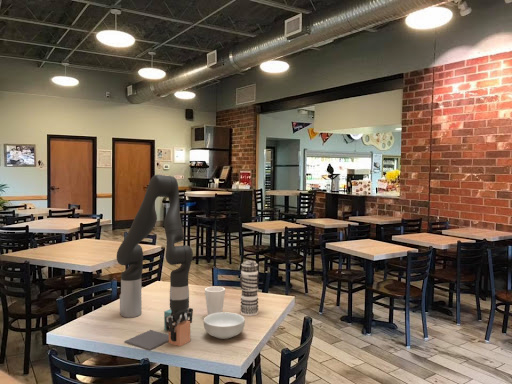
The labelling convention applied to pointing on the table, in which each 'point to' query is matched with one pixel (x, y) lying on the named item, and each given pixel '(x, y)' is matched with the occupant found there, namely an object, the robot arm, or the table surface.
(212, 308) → the foam cup
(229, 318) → the cereal bowl
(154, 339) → the charcoal mat
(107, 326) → the table surface
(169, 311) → the seafoam square box
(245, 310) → the decorative candle
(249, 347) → the table surface
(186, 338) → the salmon pink cube
